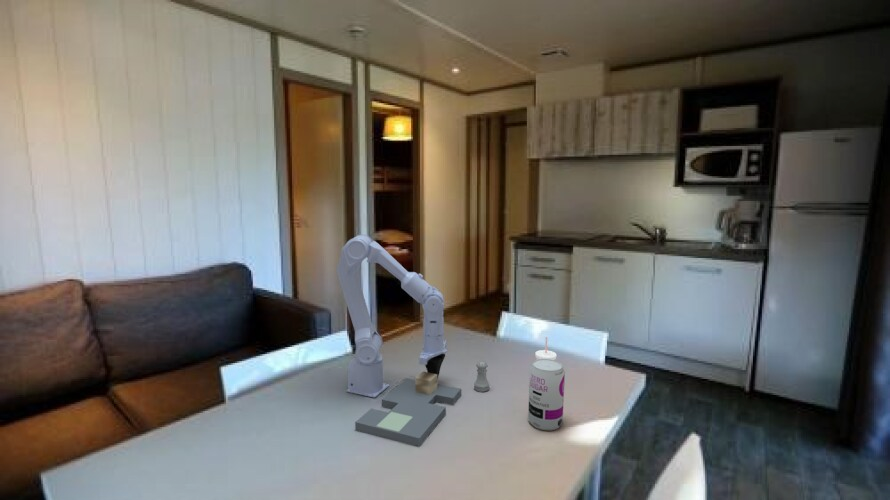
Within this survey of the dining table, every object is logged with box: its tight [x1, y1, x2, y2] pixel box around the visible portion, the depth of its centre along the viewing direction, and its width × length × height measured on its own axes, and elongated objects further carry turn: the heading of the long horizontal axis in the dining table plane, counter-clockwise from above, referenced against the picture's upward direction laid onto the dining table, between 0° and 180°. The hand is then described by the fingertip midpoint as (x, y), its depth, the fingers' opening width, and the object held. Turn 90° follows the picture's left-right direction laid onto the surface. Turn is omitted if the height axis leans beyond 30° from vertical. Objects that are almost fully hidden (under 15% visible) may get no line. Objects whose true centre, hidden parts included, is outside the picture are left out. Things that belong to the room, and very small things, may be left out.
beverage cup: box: [534, 336, 557, 361], centre depth 126 cm, size 6×6×14 cm
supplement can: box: [527, 359, 566, 432], centre depth 105 cm, size 8×8×15 cm
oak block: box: [415, 371, 438, 395], centre depth 118 cm, size 4×4×4 cm
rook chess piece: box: [473, 360, 490, 393], centre depth 123 cm, size 4×4×8 cm
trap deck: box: [354, 377, 462, 447], centre depth 111 cm, size 17×26×2 cm, turn 157°
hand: (433, 379), depth 123 cm, fingers closed
